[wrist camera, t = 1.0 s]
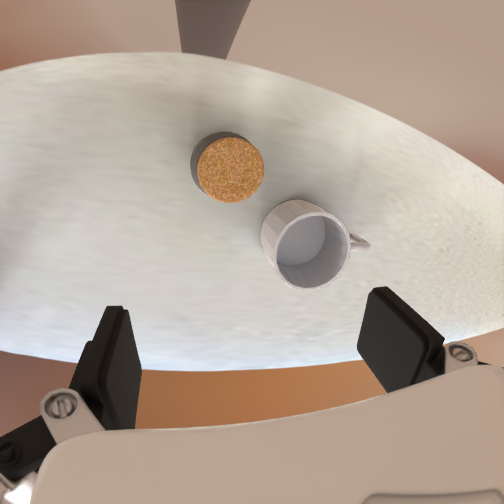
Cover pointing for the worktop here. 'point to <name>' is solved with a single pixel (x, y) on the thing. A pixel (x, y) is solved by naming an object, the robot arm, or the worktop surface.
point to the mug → (307, 244)
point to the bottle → (227, 167)
